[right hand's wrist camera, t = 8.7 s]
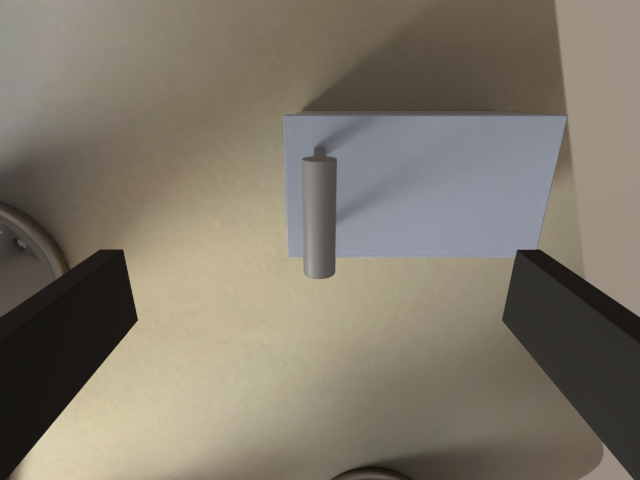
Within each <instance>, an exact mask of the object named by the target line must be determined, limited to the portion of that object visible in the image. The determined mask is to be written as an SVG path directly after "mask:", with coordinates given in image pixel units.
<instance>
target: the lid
mask: <svg viewBox="0 0 640 480" xmlns="http://www.w3.org/2000/svg"><path fill="white" fill-rule="evenodd" d="M566 121H567V115H284V116H283V132H284V161H285V190H286V219H287V248H288V257H304V274H305V275H306V276H308V277H310V278H314V279H325V278H329V277H331V276H333V275H334V274H335V257H516V252H517V250H537V246H538V242H539V238H540V233H541V229H542V225H543V220H544V216H545V212H546V207H547V203H548V199H549V194H550V190H551V186H552V181H553V177H554V173H555V168H556V164H557V160H558V156H559V151H560V147H561V143H562V138H563V134H564V130H565V125H566Z"/></svg>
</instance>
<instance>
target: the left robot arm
mask: <svg viewBox="0 0 640 480" xmlns="http://www.w3.org/2000/svg"><path fill="white" fill-rule="evenodd" d="M333 480H410V479H409V478H407V477H405V476H404V475H402V474H399V473H397V472H394V471H390V470H385V469H360V470H355V471H351V472H348V473H345V474H343V475H340V476H338V477H336V478H335V479H333Z"/></svg>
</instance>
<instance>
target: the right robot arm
mask: <svg viewBox="0 0 640 480" xmlns="http://www.w3.org/2000/svg"><path fill="white" fill-rule="evenodd" d="M137 321H138V318H137V314H136V309H135V304H134V299H133V295H132V290H131V285H130V280H129V276H128V271H127V266H126V261H125V257H124V252H123V250H99V251H97V252H96V253H94V254H93V255H91V256H90V257H88V258H87V259H85V260H84V261H83V262H81V263H80V264H78V265H77V266H75V267H74V268H72V269H71V270H69V271H68V269H67V266H66V263H65V260H64V258H63V256H62V254H61V252H60V250H59V248H58V247H57V245H56V244H55V242H54V241H53V240H52V238H51V237H50V236H49V235H48V234H47V233H46V232H45V230H43V229H42V228H41V227H40V226H39V225H38V224H37V223H36V222H34V221H33V220H32V219H30V218H29V217H28V216H26V215H25V214H23V213H21V212H20V211H18V210H16V209H14V208H12V207H10V206H7V205H5V204H3V203H0V480H9V478H10V474H11V473H12V472H13V471H14V469H15V468H16V467H17V466H18V465H19V463H20V462H21V461H22V460H23V459H24V457H25V456H26V455H27V454H28V452H29V451H30V450H31V449H32V448H33V446H34V445H35V444H36V443H37V442H38V440H39V439H40V438H41V437H42V436H43V434H44V433H45V432H46V431H47V430H48V428H49V427H50V426H51V425H52V423H53V422H54V421H55V420H56V419H57V417H58V416H59V415H60V414H61V413H62V411H63V410H64V409H65V408H66V407H67V405H68V404H69V403H70V402H71V401H72V399H73V398H74V397H75V396H76V394H77V393H78V392H79V391H80V390H81V388H82V387H83V386H84V385H85V384H86V382H87V381H88V380H89V379H90V378H91V376H92V375H93V374H94V373H95V372H96V370H97V369H98V368H99V367H100V365H101V364H102V363H103V362H104V361H105V359H106V358H107V357H108V356H109V355H110V353H111V352H112V351H113V350H114V349H115V347H116V346H117V345H118V344H119V343H120V341H121V340H122V339H123V338H124V336H125V335H126V334H127V333H128V332H129V330H130V329H131V328H132V327H133V326H134V324H135V323H136V322H137ZM502 321H503V322H504V323H505V324H506V326H507V327H508V328H509V329H510V330H511V332H512V333H513V334H514V335H515V336H516V338H517V339H518V340H519V341H520V343H521V344H522V345H523V346H524V347H525V349H526V350H527V351H528V352H529V353H530V355H531V356H532V357H533V358H534V359H535V361H536V362H537V363H538V364H539V365H540V367H541V368H542V369H543V370H544V372H545V373H546V374H547V375H548V376H549V378H550V379H551V380H552V381H553V382H554V384H555V385H556V386H557V387H558V388H559V390H560V391H561V392H562V393H563V394H564V396H565V397H566V398H567V399H568V401H569V402H570V403H571V404H572V405H573V407H574V408H575V409H576V410H577V411H578V413H579V414H580V415H581V416H582V417H583V419H584V420H585V421H586V422H587V423H588V425H589V426H590V427H591V428H592V430H593V431H594V432H595V433H596V434H597V436H598V437H599V438H600V439H601V440H602V442H603V443H604V444H605V445H606V446H607V448H608V449H609V450H610V451H611V452H612V454H613V455H614V456H615V457H616V458H617V460H618V461H619V462H620V463H621V465H622V466H623V467H624V468H625V469H626V471H627V472H628V473H629V474H630V475H631V477H632V478H633V479H634V480H640V317H638V316H637V315H636V314H634V313H633V312H631V311H630V310H628V309H627V308H625V307H624V306H622V305H621V304H619V303H618V302H616V301H615V300H613V299H612V298H610V297H609V296H608V295H606V294H605V293H603V292H602V291H600V290H599V289H597V288H596V287H594V286H593V285H591V284H590V283H588V282H587V281H585V280H584V279H583V278H581V277H580V276H578V275H577V274H575V273H574V272H572V271H571V270H569V269H568V268H566V267H565V266H563V265H562V264H560V263H559V262H557V261H556V260H555V259H553V258H552V257H550V256H549V255H547V254H546V253H544V252H543V251H541V250H517V252H516V257H515V261H514V266H513V271H512V276H511V280H510V285H509V290H508V295H507V299H506V304H505V309H504V314H503V318H502Z"/></svg>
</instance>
